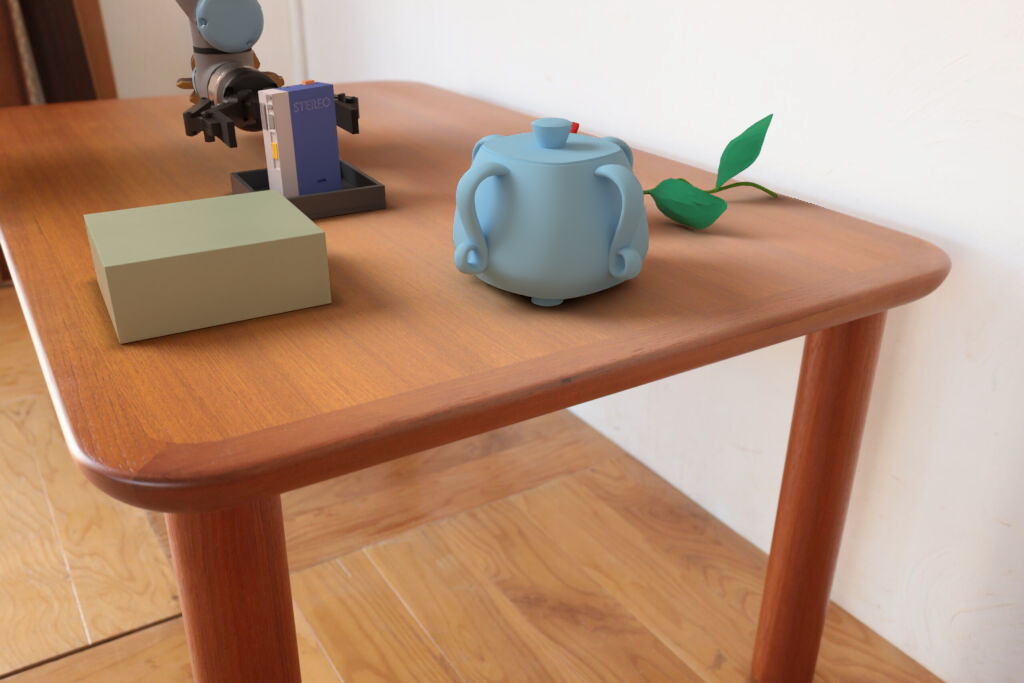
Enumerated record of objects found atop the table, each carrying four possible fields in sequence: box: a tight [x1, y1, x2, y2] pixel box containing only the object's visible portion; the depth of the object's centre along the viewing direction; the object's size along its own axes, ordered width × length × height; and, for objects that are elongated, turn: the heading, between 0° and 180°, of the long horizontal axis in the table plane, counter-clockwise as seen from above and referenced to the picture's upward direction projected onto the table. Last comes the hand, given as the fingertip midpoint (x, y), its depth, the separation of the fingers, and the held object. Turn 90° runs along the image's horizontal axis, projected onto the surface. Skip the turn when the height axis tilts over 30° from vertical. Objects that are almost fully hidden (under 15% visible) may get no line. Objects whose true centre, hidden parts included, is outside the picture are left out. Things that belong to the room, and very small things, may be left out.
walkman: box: [258, 79, 342, 198], centre depth 95 cm, size 8×3×12 cm, turn 139°
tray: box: [229, 158, 387, 220], centre depth 98 cm, size 13×13×2 cm
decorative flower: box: [570, 113, 779, 231], centre depth 90 cm, size 14×30×10 cm, turn 104°
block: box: [83, 189, 332, 345], centre depth 73 cm, size 14×16×6 cm
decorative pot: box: [452, 117, 650, 307], centre depth 74 cm, size 16×16×14 cm
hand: (295, 128), depth 97 cm, fingers open, 13 cm apart
